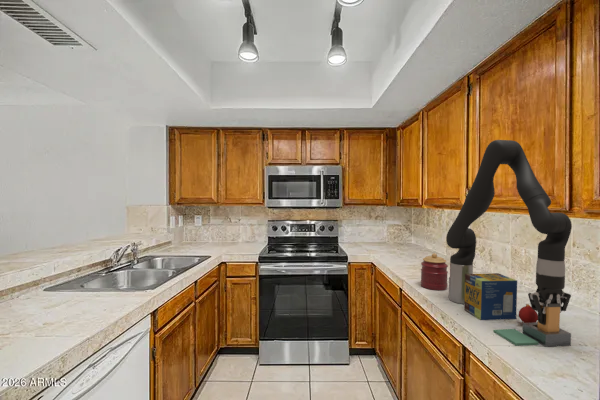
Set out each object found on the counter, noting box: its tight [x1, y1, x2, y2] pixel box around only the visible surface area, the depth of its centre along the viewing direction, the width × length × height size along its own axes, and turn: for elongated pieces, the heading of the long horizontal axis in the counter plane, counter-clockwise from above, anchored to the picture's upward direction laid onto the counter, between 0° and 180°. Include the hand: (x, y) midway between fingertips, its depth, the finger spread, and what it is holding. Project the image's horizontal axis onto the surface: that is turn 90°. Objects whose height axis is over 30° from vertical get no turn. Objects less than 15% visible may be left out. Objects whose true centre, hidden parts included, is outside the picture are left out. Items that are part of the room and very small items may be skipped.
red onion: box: [518, 303, 538, 323], centre depth 116 cm, size 6×6×8 cm
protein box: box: [463, 272, 518, 321], centre depth 126 cm, size 10×15×16 cm
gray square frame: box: [522, 321, 572, 348], centre depth 105 cm, size 9×9×4 cm
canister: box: [420, 252, 449, 291], centre depth 163 cm, size 13×13×18 cm
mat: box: [493, 328, 539, 347], centre depth 106 cm, size 10×8×1 cm
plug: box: [537, 301, 561, 332], centre depth 104 cm, size 4×4×13 cm
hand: (548, 323), depth 104 cm, fingers closed on plug, 4 cm apart
